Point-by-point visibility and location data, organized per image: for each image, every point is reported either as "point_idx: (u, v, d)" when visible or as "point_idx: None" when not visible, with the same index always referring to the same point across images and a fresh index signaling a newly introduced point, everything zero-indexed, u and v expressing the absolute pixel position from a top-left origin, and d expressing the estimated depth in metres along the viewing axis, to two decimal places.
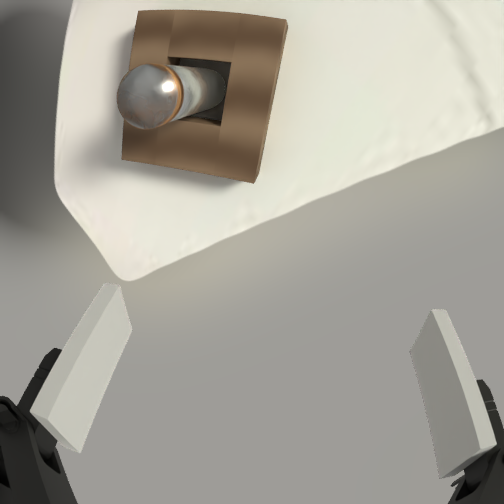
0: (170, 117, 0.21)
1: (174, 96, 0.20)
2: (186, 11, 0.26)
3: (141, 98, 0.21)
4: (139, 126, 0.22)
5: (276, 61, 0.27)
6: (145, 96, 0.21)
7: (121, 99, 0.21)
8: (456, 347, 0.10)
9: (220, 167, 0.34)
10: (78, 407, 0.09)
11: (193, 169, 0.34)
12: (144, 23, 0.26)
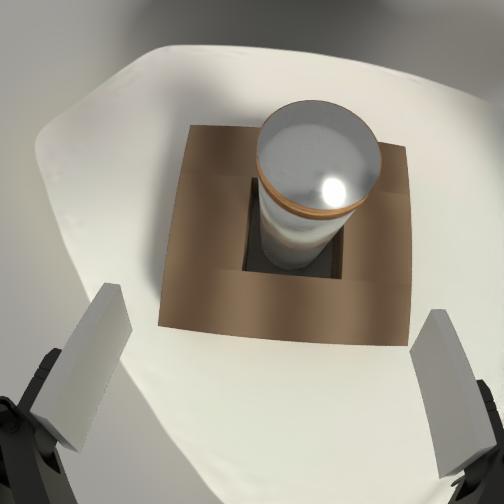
0: (280, 196, 0.12)
1: (324, 203, 0.12)
2: (408, 210, 0.23)
3: (316, 141, 0.12)
4: (261, 137, 0.12)
5: (348, 342, 0.21)
6: (320, 149, 0.12)
7: (312, 107, 0.12)
8: (456, 347, 0.10)
9: (178, 274, 0.22)
10: (78, 407, 0.09)
11: (173, 231, 0.23)
12: (389, 154, 0.24)
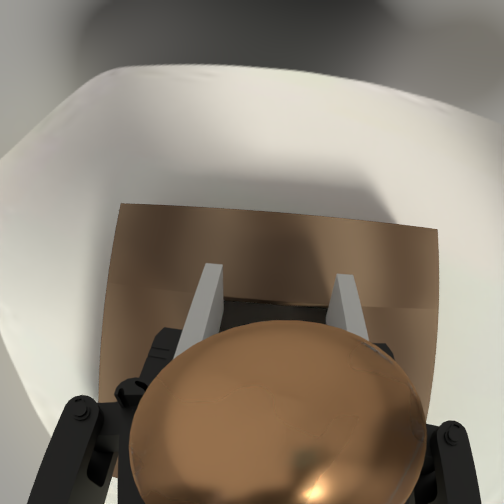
0: None
1: None
2: (434, 332, 0.15)
3: (273, 451, 0.04)
4: (139, 436, 0.04)
5: None
6: (281, 470, 0.04)
7: (272, 348, 0.05)
8: (354, 308, 0.12)
9: None
10: None
11: (103, 367, 0.15)
12: (414, 245, 0.16)
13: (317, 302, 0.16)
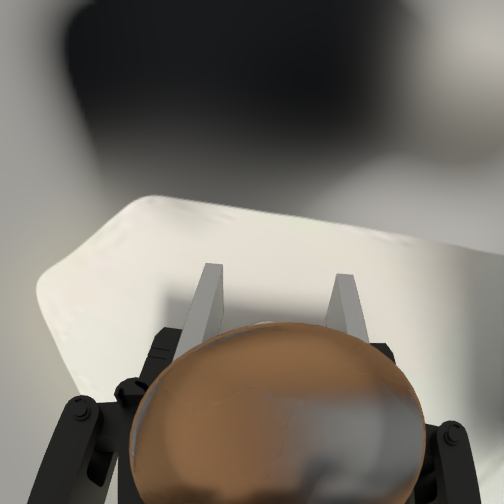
0: None
1: None
2: None
3: (272, 452, 0.04)
4: (139, 437, 0.04)
5: None
6: (281, 471, 0.04)
7: (271, 350, 0.05)
8: (354, 308, 0.12)
9: None
10: None
11: None
12: None
13: None
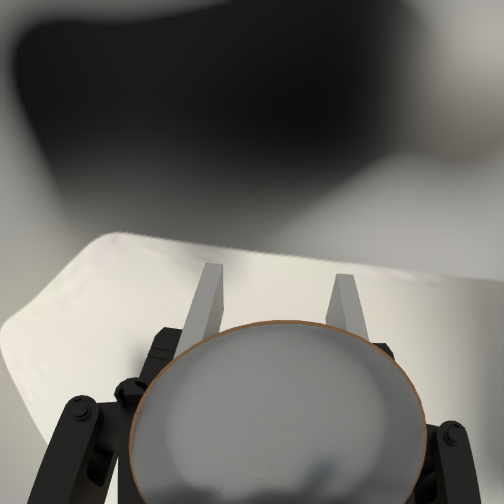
0: None
1: None
2: None
3: (273, 451, 0.04)
4: (139, 436, 0.04)
5: None
6: (281, 470, 0.04)
7: (272, 348, 0.05)
8: (354, 308, 0.12)
9: None
10: None
11: None
12: None
13: None
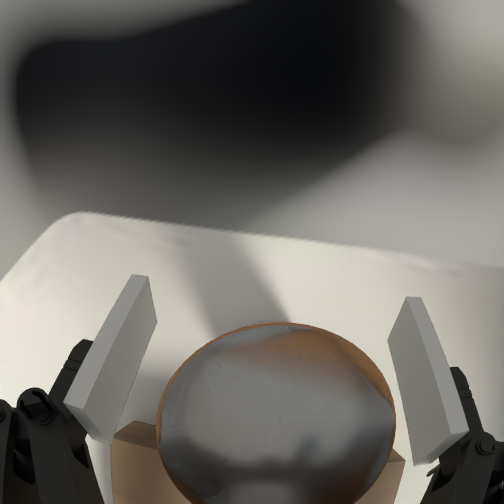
0: None
1: None
2: None
3: (271, 425, 0.06)
4: (164, 415, 0.06)
5: None
6: (278, 441, 0.06)
7: (270, 344, 0.06)
8: (430, 333, 0.11)
9: None
10: (110, 397, 0.09)
11: None
12: (378, 478, 0.15)
13: None
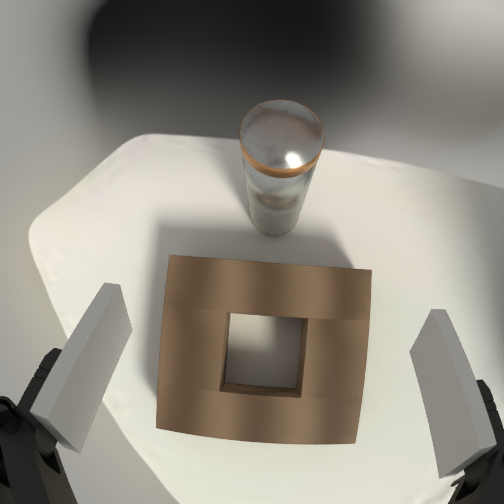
0: (255, 161, 0.18)
1: (283, 165, 0.18)
2: (366, 334, 0.26)
3: (279, 126, 0.18)
4: (243, 125, 0.18)
5: (304, 443, 0.24)
6: (282, 131, 0.18)
7: (277, 104, 0.19)
8: (456, 347, 0.10)
9: (169, 391, 0.26)
10: (78, 407, 0.09)
11: (161, 357, 0.26)
12: (354, 281, 0.27)
13: (291, 316, 0.27)
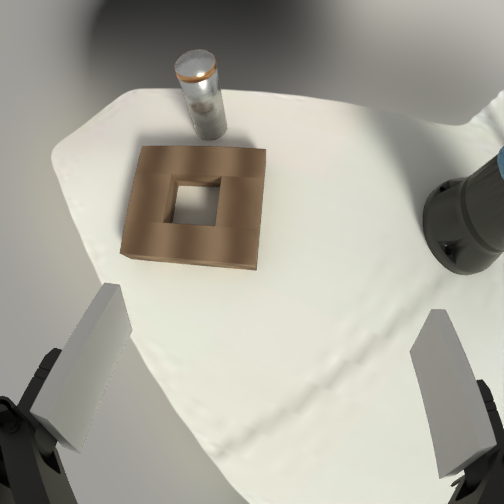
0: (179, 75, 0.33)
1: (192, 75, 0.33)
2: (261, 187, 0.41)
3: (193, 60, 0.34)
4: (176, 61, 0.34)
5: (217, 261, 0.40)
6: (194, 62, 0.34)
7: (195, 51, 0.34)
8: (456, 347, 0.10)
9: (131, 225, 0.41)
10: (78, 407, 0.09)
11: (130, 204, 0.42)
12: (253, 155, 0.43)
13: (211, 174, 0.42)
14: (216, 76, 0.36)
